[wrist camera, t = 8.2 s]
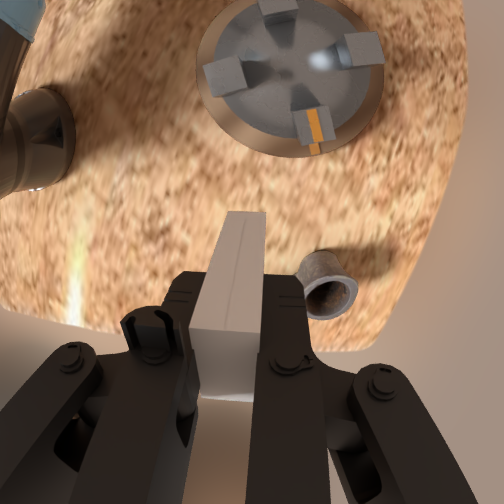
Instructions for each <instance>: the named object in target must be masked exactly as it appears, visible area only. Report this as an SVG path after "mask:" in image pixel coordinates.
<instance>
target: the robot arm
mask: <svg viewBox="0 0 504 504" xmlns="http://www.w3.org/2000/svg"><path fill="white" fill-rule="evenodd" d="M45 8H46V3H45V0H0V199H2V198H3V197H5V196H7V195H9V194H10V193H12V192H19V191H24V190H29V191H37V190H42V189H44V188H47V187H48V186H50V185H52V184H54V183H56V182H57V181H58V180H60V179H61V178H62V177H63V175H64V174H65V173H66V171H67V169H68V168H69V165H70V163H71V161H72V157H73V154H74V148H75V125H74V120H73V116H72V113H71V110H70V108H69V106H68V104H67V103H66V101H65V100H64V98H63V97H62V96H61V95H60V94H58V93H57V92H56V91H54V90H51V89H47V88H40V89H32V90H28V91H25V92H23V93H22V94H20V95H18V96H17V97H16V98H15V99H14V100H12V101H11V99H12V96H13V92H14V89H15V86H16V83H17V80H18V77H19V74H20V71H21V68H22V65H23V63H24V60H25V58H26V55H27V52H28V50H29V48H30V45H31V43H33V42H34V40H35V39H34V36H35V33H36V31H37V28H38V26H39V24H40V21H41V19H42V17H43V14H44V12H45ZM265 230H266V212H245V211H228V213H227V216H226V218H225V221H224V224H223V227H222V230H221V232H220V235H219V238H218V241H217V244H216V247H215V250H214V253H213V255H212V258H211V261H210V264H209V267H208V270H207V272H191V271H183V272H182V273H181V274H180V275H178V276H177V277H176V278H175V279H174V280H173V281H172V284H171V286H170V288H169V290H168V293H167V294H166V296H165V298H164V301H163V303H162V305H161V306H145V307H141V308H138V309H135V310H133V311H132V312H130V313H128V314H127V315H126V316H125V317H124V318H123V319H122V320H121V321H120V324H121V327H122V330H123V333H124V336H125V338H126V341H127V344H128V347H129V350H128V351H127V352H123V353H117V354H106V355H96V353H95V351H94V349H93V348H92V347H91V346H89V345H88V344H87V343H83V342H70V343H67V344H65V345H62V346H60V347H59V348H58V349H57V350H55V351H54V352H53V353H52V354H51V355H50V356H49V357H48V358H47V359H46V361H45V362H44V363H43V364H42V365H41V366H40V367H39V368H38V369H37V370H36V371H35V372H34V373H33V375H32V376H31V377H30V378H29V379H28V380H27V381H26V382H25V383H24V385H23V386H22V387H21V388H20V389H19V390H18V391H17V392H16V394H15V395H14V396H13V397H12V399H10V401H9V402H8V403H7V404H6V405H5V407H4V408H3V409H2V410H1V411H0V504H182V499H183V493H184V487H185V482H186V477H187V471H188V466H189V461H190V456H191V450H192V445H193V440H194V434H195V430H196V425H197V419H198V406H197V399H198V394H199V390H200V393H201V397H202V398H210V399H220V400H231V401H245V402H253V414H252V428H251V440H250V452H249V465H248V476H247V488H246V500H245V504H331V498H330V480H329V465H328V451H327V448H328V449H329V452H330V455H331V458H332V460H333V463H334V465H335V468H336V471H337V474H338V476H339V479H340V482H341V484H342V487H343V490H344V492H345V495H346V498H347V500H348V503H349V504H478V502H477V500H476V498H475V496H474V494H473V492H472V490H471V488H470V486H469V484H468V482H467V480H466V478H465V477H464V475H463V473H462V471H461V469H460V467H459V465H458V463H457V462H456V460H455V458H454V456H453V454H452V453H451V451H450V449H449V447H448V445H447V444H446V442H445V440H444V438H443V437H442V435H441V433H440V431H439V430H438V428H437V426H436V424H435V423H434V421H433V419H432V418H431V416H430V414H429V413H428V411H427V409H426V408H425V406H424V404H423V403H422V401H421V399H420V398H419V396H418V395H417V393H416V391H415V390H414V388H413V386H412V385H411V383H410V382H409V380H408V378H407V377H406V376H405V375H404V374H403V373H402V372H401V371H400V370H398V369H396V368H394V367H393V366H391V365H385V364H381V363H379V364H370V365H368V366H366V367H364V368H361V369H360V371H359V372H358V373H357V374H354V373H350V372H346V371H341V370H338V369H335V368H332V367H329V366H327V365H326V364H324V363H323V362H321V361H320V360H319V359H318V358H317V357H316V355H315V354H314V352H313V350H312V347H311V341H310V333H309V325H308V317H307V309H306V301H305V294H304V287H303V284H302V283H301V282H300V281H299V279H298V278H297V277H296V276H295V275H271V274H264V254H265Z"/></svg>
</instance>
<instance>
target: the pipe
mask: <svg viewBox="0 0 504 504" xmlns="http://www.w3.org/2000/svg"><path fill="white" fill-rule="evenodd" d="M294 275H295V276H296V277H297V278H298V279H299V281H300V282H301V283H302V284H303V287H304V294H305V301H306V309H307V317H308V318H311V319H316V320H329V319H333V318H335V317H338V316H340V315H341V314H343V313H345V312H346V311H347V310H348V309H349V308H350V307H351V305H352V304H353V302H354V300H355V298H356V296H357V293H358V282H357V280H356V279H354V278H352V277H351V276H350V275H349V274H348V273H347V272H346V271H345V270H344V269H343V268H342V266H341V265H340V263H339V261H338V259H337V257H336V255H335V254H333V253H331V252H329V251H317V252H314V253H312V254H309V255H308V256H306V257H305V258H304V259H303V260H302V262H301V264H300V267H299V271H298V272H297V273H296V274H294Z"/></svg>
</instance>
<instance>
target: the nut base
mask: <svg viewBox="0 0 504 504" xmlns="http://www.w3.org/2000/svg"><path fill="white" fill-rule="evenodd" d="M314 1H317V2H320V3H322V4H324V5H327V6H329V7H331V8H332V9H334V10H335V11H337V12H338V13H340V14H341V15H342V16H344V17H345V18H346V19H347V20H348V21H349V22H350V23H351V24H352V25H353V26H354V27H355V29H356V30H357V32H358V33H360V32H370V30H369V29H368V28H367V26H366V25H365V24H364V22H363V21H362V20H361V19H360V18H359V17H358V16H357V15H356V14H355V13H354V12H353V11H351V10H350V9H349V8H348V7H346V6H345V5H343V4H342V3H340V2H339V1H337V0H314ZM255 3H256V0H236V1H234V2H233V3H231V4H230V5H228V6H227V7H226V8H225V9H223V10H222V11H221V12H220V13H219V14H218V15H217V16H216V17H215V18H214V20H213V21H212V22H211V24H210V25H209V27H208V28H207V30H206V32H205V34H204V36H203V38H202V40H201V43H200V46H199V49H198V53H197V59H196V78H197V84H198V88H199V92H200V95H201V98H202V100H203V103H204V105H205V107H206V108H207V110H208V112H209V113H210V115H211V116H212V118H213V119H214V120H215V121H216V123H217V124H218V125H219V126H220V127H221V128H222V129H223V130H224V131H225V132H226V133H227V134H229V135H230V136H231V137H232V138H234V139H235V140H237V141H238V142H240V143H242V144H243V145H245V146H247V147H249V148H251V149H254V150H256V151H259V152H262V153H265V154H268V155H273V156H278V157H287V158H303V157H310V156H316V155H320V154H323V153H327V152H330V151H332V150H334V149H337V148H339V147H341V146H342V145H344V144H346V143H347V142H349V141H350V140H351V139H353V138H354V137H355V136H357V135H358V134H359V133H360V132H361V131H362V130H363V129H364V128H365V127H366V125H367V124H368V123H369V121H370V120H371V118H372V117H373V115H374V113H375V111H376V109H377V107H378V105H379V102H380V99H381V95H382V91H383V83H384V70H383V64H381V65H377V66H374V67H370V69H371V74H370V83H369V87H368V91H367V94H366V96H365V99H364V100H363V102H362V104H361V106H360V107H359V109H358V110H357V111H356V112H355V114H354V115H353V116H352V117H351V118H350V119H349V120H348V121H346V122H345V123H344V124H342V125H341V126H339V127H338V128H336V129H334V132H335V136H336V139H334V140H329V141H324V142H319V143H314V144H309V145H305V146H301V144H300V142H299V141H298V139H292V138H282V137H277V136H273V135H270V134H267V133H264V132H262V131H259V130H257V129H255V128H253V127H252V126H250V125H248V124H247V123H245V122H244V121H243V120H242V119H240V118H239V117H238V116H237V115H236V114H235V113H234V112H233V111H232V110H231V109H230V108H229V106H228V105H227V104H226V102H225V101H224V99H223V97H222V98H216V97H212V95H211V91H210V88H209V85H208V82H207V79H206V75H205V72H204V69H203V65H206V64H209V63H212V62H214V53H215V48H216V45H217V42H218V40H219V37H220V35H221V34H222V32H223V30H224V29H225V27H226V26H227V24H228V23H229V22H230V21H231V20H232V19H233V18H234V17H235V16H236V15H237V14H238V13H240V12H241V11H242V10H244V9H246V8H247V7H249V6H251V5H253V4H255Z"/></svg>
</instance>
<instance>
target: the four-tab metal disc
mask: <svg viewBox="0 0 504 504" xmlns="http://www.w3.org/2000/svg"><path fill="white" fill-rule="evenodd" d="M384 63H386V62H385V58H384V54H383V51H382V47H381V44H380V40H379V37H378V34H377V31H375V32H360V33H358V32H357V30H356V29H355V27H354V26H353V25H352V24H351V23H350V22H349V21H348V20H347V19H346V18H345V17H344V16H342V15H341V14H340V13H338V12H337V11H335V10H334V9H332V8H331V7H329V6H327V5H324V4H322V3H320V2H317V1H314V0H256V3H255V4H253V5H251V6H249V7H247V8H246V9H244V10H242V11H241V12H240V13H238V14H237V15H236V16H235V17H234V18H233V19H232V20H231V21H230V22H229V23H228V24H227V26H226V27H225V29H224V30H223V32H222V34H221V35H220V37H219V40H218V42H217V45H216V48H215V53H214V62H212V63H209V64H206V65H203V69H204V72H205V75H206V79H207V82H208V85H209V88H210V91H211V95H212V97H216V98H222V97H223V99H224V101H225V102H226V104H227V105H228V106H229V108H230V109H231V110H232V111H233V112H234V113H235V114H236V115H237V116H238V117H239V118H240V119H242V120H243V121H244V122H245V123H247V124H248V125H250V126H252V127H253V128H255V129H257V130H259V131H262V132H264V133H267V134H270V135H273V136H277V137H282V138H292V139H298V141H299V142H300V144H301V146H305V145H309V144H314V143H319V142H324V141H329V140H334V139H336V136H335V132H334V129H336V128H338V127H339V126H341V125H342V124H344V123H345V122H346V121H348V120H349V119H350V118H351V117H352V116H353V115H354V114H355V112H356V111H357V110H358V109H359V107H360V106H361V104H362V102H363V100H364V99H365V96H366V94H367V91H368V87H369V83H370V74H371V69H370V67H374V66H377V65H381V64H384Z"/></svg>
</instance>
